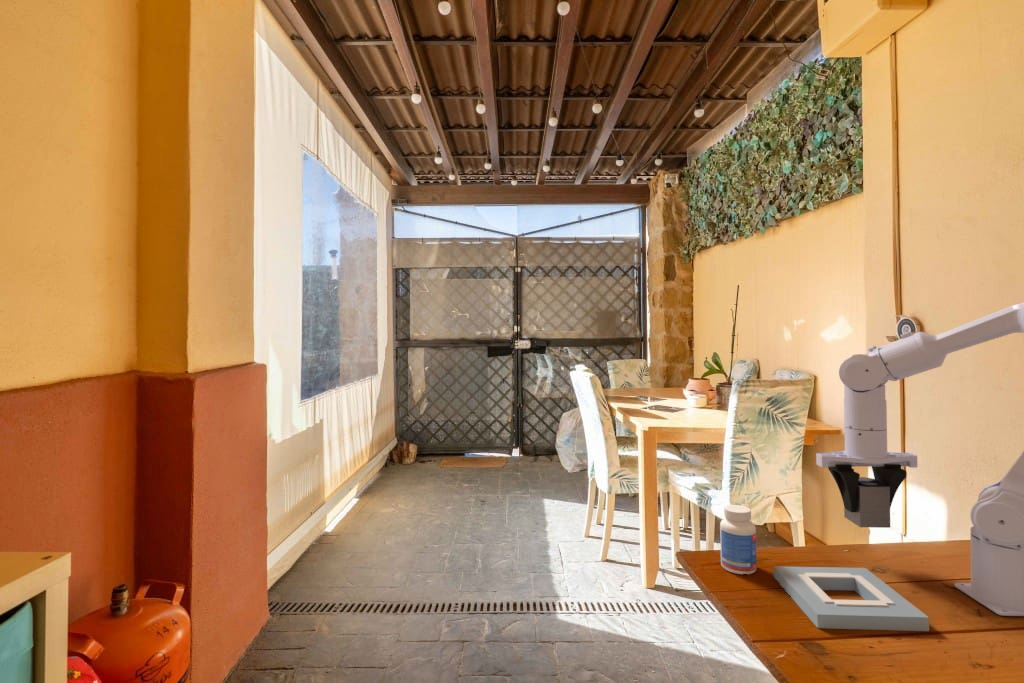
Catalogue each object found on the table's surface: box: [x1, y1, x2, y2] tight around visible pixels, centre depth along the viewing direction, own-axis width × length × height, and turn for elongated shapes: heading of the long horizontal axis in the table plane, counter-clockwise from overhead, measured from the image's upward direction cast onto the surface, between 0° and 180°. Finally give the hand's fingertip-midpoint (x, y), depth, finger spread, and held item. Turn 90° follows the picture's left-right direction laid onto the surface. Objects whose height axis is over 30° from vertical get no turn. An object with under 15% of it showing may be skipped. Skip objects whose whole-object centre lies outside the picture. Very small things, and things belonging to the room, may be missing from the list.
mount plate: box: [773, 565, 930, 632], centre depth 72 cm, size 14×14×2 cm
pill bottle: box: [719, 504, 758, 575], centre depth 83 cm, size 6×5×10 cm
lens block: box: [843, 476, 891, 529], centre depth 82 cm, size 4×4×7 cm
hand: (866, 510), depth 82 cm, fingers closed on lens block, 4 cm apart
